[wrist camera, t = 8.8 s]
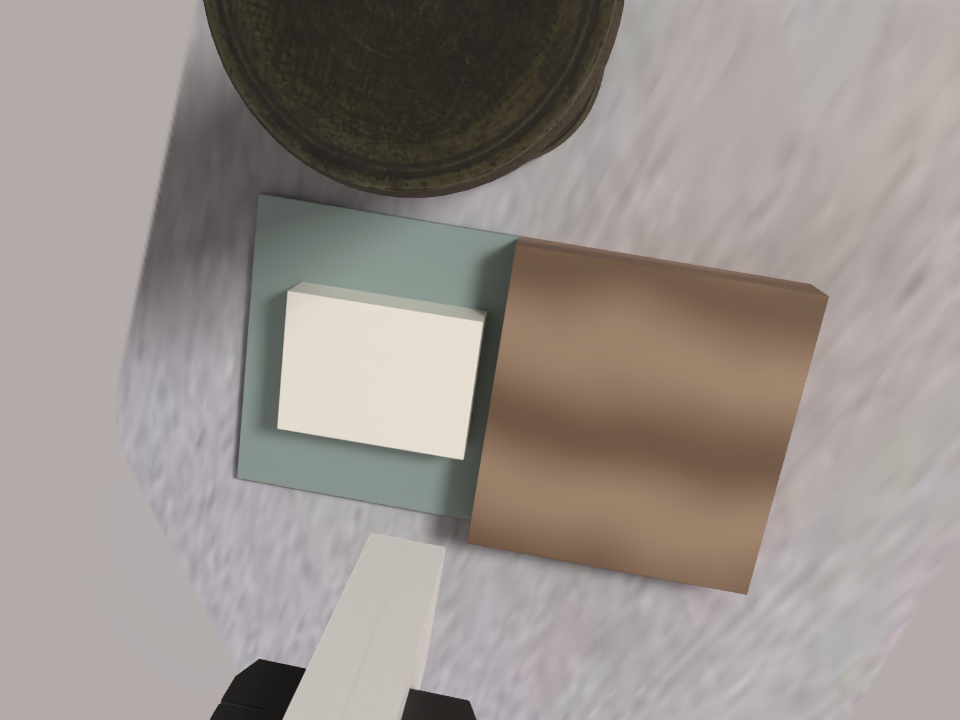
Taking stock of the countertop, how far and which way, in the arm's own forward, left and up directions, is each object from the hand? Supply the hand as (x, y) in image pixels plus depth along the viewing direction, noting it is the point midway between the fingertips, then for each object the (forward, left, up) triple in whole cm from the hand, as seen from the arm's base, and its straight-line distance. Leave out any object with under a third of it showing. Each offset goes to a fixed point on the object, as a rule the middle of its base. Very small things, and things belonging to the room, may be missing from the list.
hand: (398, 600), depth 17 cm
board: (+2, +7, -21) cm, 22 cm away
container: (-12, -2, -21) cm, 24 cm away
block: (+2, -4, -20) cm, 21 cm away
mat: (+2, -5, -21) cm, 21 cm away
